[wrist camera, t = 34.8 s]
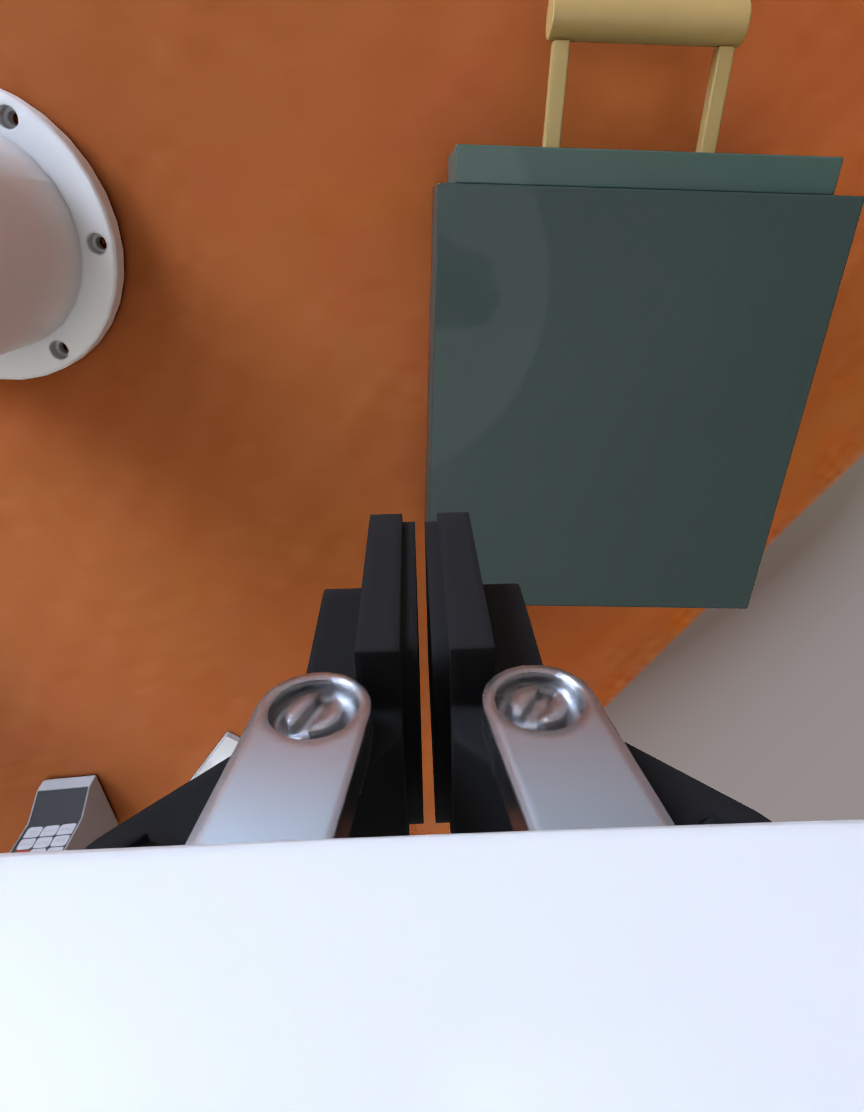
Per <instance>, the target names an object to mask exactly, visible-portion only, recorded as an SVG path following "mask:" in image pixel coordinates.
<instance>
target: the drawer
mask: <svg viewBox="0 0 864 1112" xmlns="http://www.w3.org/2000/svg"><path fill="white" fill-rule="evenodd" d="M751 12H752V4H751V1H750V0H549V4H548V10H547V19H546V39H547V40H548V41H553V42H552V44H551V55H550V66H549V77H548V88H547V100H546V111H545V122H544V134H543V145H542V147H526V146H497V145H467V144H457V145H456V146H455V148H454V149H453V151H452V152H451V154H450V155H449V157H448V177H447V183H465V184H496V185H527V186H558V187H589V188H621V189H652V190H683V191H714V192H746V193H777V194H808V195H833V194H834V192H835V188H836V184H837V180H838V177H839V173H840V169H841V165H842V162H843V158H842V157H824V156H794V155H764V154H734V153H715V150H716V145H717V140H718V134H719V129H720V124H721V119H722V113H723V108H724V103H725V98H726V92H727V87H728V82H729V77H730V71H731V66H732V61H733V56H734V50H735V48H737V47H739V46H740V45H741V43H742V42H743V40H744V38H745V36H746V33H747V30H748V27H749V24H750V19H751ZM570 42H593V43H619V44H646V45H672V46H698V47H717V48H715V49H714V52H713V57H712V63H711V68H710V74H709V79H708V85H707V91H706V96H705V102H704V107H703V113H702V119H701V124H700V130H699V135H698V141H697V146H696V152H675V151H645V150H616V149H586V148H560V141H561V131H562V121H563V110H564V100H565V90H566V80H567V70H568V60H569V50H570Z"/></svg>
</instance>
